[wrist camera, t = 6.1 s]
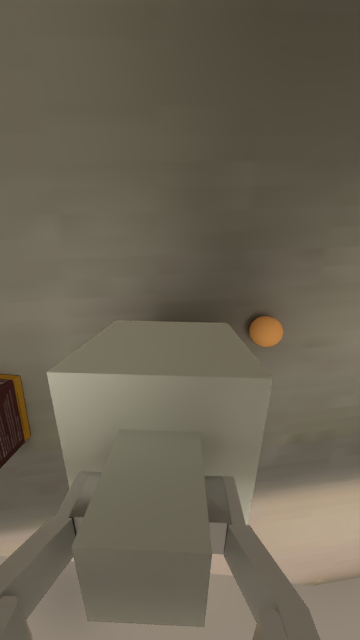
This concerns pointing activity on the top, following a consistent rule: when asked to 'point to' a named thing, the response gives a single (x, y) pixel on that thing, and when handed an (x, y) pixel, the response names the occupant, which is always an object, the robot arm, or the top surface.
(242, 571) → the robot arm
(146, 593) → the pale sage box
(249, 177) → the top surface
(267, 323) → the ball
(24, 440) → the supplement box
